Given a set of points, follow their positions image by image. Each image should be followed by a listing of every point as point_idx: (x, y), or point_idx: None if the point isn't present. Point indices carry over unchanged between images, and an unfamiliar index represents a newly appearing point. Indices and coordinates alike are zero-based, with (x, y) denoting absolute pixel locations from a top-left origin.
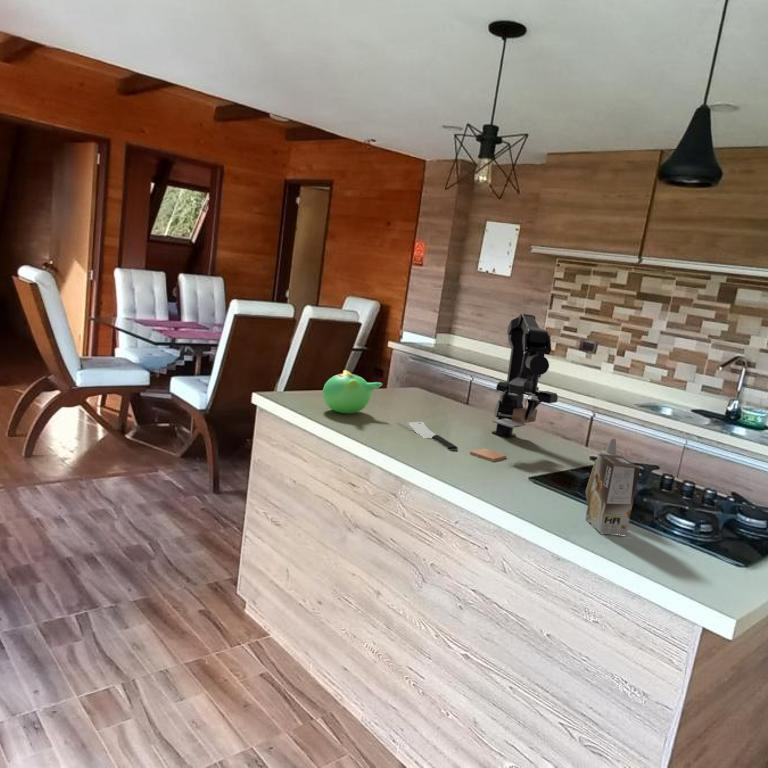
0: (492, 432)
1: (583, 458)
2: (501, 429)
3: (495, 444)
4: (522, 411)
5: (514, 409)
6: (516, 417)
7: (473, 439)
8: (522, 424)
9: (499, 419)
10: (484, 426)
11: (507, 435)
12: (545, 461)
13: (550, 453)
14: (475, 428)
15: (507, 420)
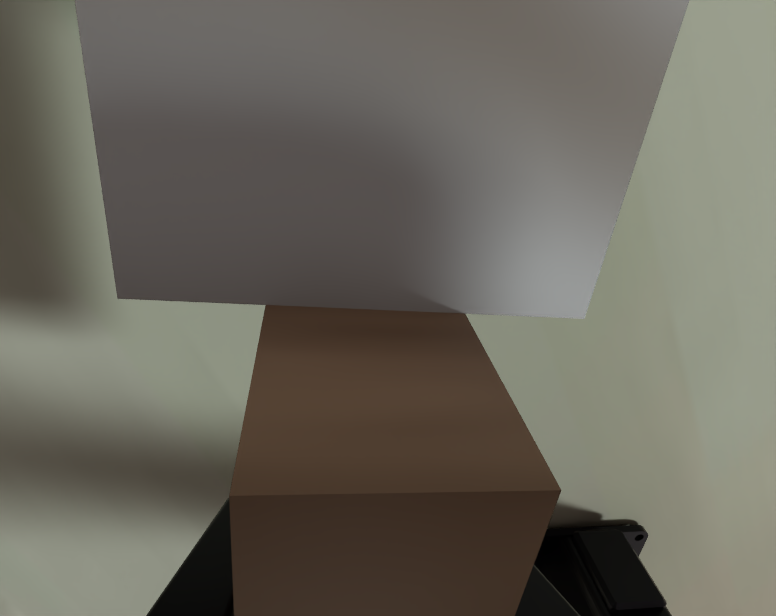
0: (640, 528)
1: (3, 596)
2: (602, 560)
3: (542, 319)
4: (230, 509)
5: (526, 484)
6: (379, 352)
7: (716, 275)
8: (105, 151)
9: (676, 25)
10: (707, 592)
11: (545, 551)
12: (41, 268)
13: (181, 498)
14: (747, 518)
15: (506, 158)
